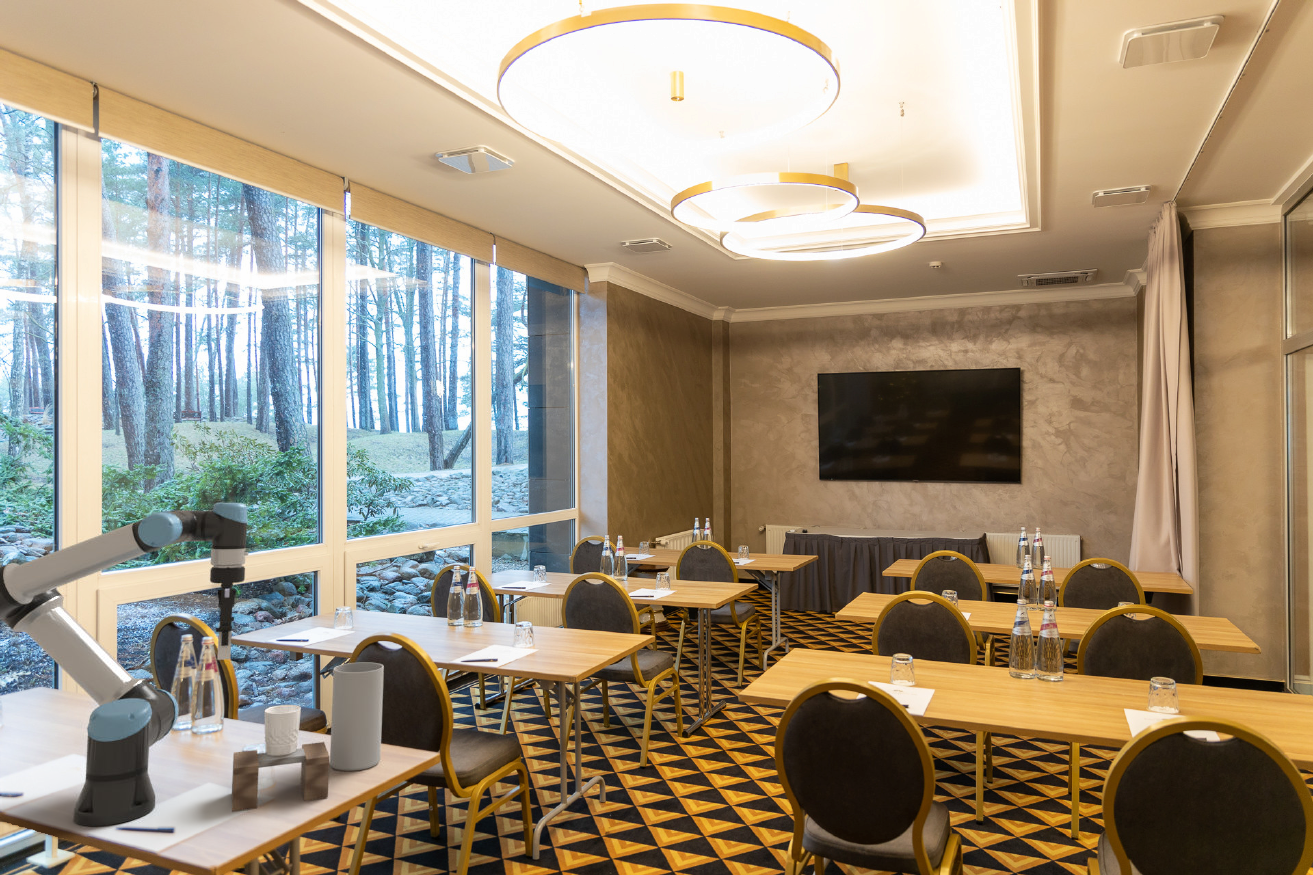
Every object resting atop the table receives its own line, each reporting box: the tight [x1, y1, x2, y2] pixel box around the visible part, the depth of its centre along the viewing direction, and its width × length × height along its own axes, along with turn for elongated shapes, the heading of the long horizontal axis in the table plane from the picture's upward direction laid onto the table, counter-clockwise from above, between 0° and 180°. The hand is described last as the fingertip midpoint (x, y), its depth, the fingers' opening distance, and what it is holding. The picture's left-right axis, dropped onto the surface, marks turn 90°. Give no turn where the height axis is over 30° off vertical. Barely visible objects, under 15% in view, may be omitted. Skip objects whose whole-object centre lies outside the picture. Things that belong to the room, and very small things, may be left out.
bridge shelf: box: [231, 741, 330, 813], centre depth 195 cm, size 20×12×10 cm, turn 117°
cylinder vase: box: [329, 661, 385, 772], centre depth 219 cm, size 12×12×25 cm
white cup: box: [264, 704, 302, 756], centre depth 198 cm, size 8×8×10 cm
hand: (223, 653), depth 201 cm, fingers open, 13 cm apart
